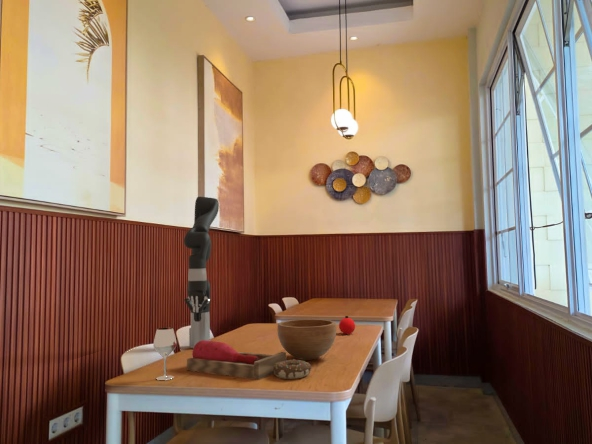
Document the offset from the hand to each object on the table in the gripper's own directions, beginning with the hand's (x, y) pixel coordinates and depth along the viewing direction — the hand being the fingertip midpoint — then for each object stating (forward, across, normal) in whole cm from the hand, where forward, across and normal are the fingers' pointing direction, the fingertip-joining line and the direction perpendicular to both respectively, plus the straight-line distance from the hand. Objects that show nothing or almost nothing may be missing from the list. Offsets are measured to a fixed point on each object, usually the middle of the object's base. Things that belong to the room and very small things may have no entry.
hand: (197, 321), depth 192 cm
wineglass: (+18, +4, -22) cm, 29 cm away
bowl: (+18, +38, +26) cm, 49 cm away
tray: (+17, +19, -1) cm, 26 cm away
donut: (+18, +45, 0) cm, 48 cm away
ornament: (+18, +28, +91) cm, 97 cm away
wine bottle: (+12, +2, -2) cm, 12 cm away
